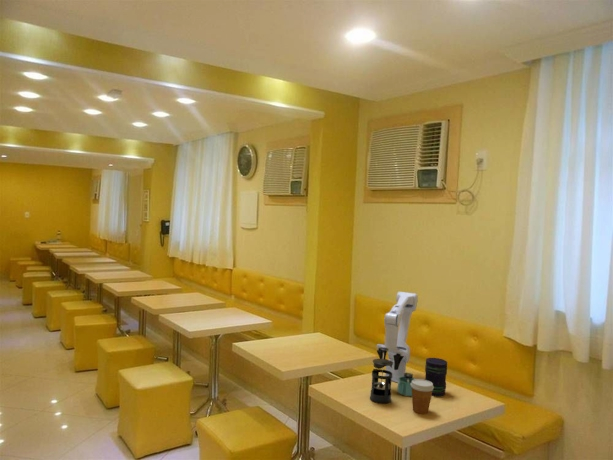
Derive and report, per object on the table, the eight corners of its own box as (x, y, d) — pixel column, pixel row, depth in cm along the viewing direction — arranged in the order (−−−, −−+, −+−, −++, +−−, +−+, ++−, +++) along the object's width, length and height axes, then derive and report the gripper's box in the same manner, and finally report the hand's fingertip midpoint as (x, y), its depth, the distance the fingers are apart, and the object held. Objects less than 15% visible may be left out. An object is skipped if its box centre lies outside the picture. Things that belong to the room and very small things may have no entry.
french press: (396, 403, 199) (399, 350, 198) (377, 405, 196) (380, 352, 195) (382, 393, 210) (385, 343, 209) (364, 395, 206) (367, 344, 206)
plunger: (397, 390, 213) (398, 373, 212) (405, 387, 217) (406, 371, 217) (409, 395, 208) (410, 377, 208) (417, 391, 212) (418, 374, 212)
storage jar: (443, 389, 219) (445, 358, 219) (447, 397, 209) (449, 365, 209) (422, 387, 220) (424, 356, 220) (425, 395, 210) (427, 363, 210)
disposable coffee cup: (415, 404, 199) (416, 376, 199) (435, 411, 193) (437, 382, 193) (404, 410, 192) (406, 382, 192) (426, 417, 186) (428, 388, 186)
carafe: (392, 392, 211) (392, 379, 211) (404, 387, 218) (405, 375, 218) (407, 398, 205) (408, 385, 205) (420, 393, 212) (421, 380, 212)
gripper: (373, 336, 217) (371, 364, 218) (399, 343, 207) (397, 373, 207) (382, 334, 222) (380, 362, 222) (408, 341, 212) (406, 370, 212)
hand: (389, 367), depth 215 cm, fingers open, 7 cm apart
